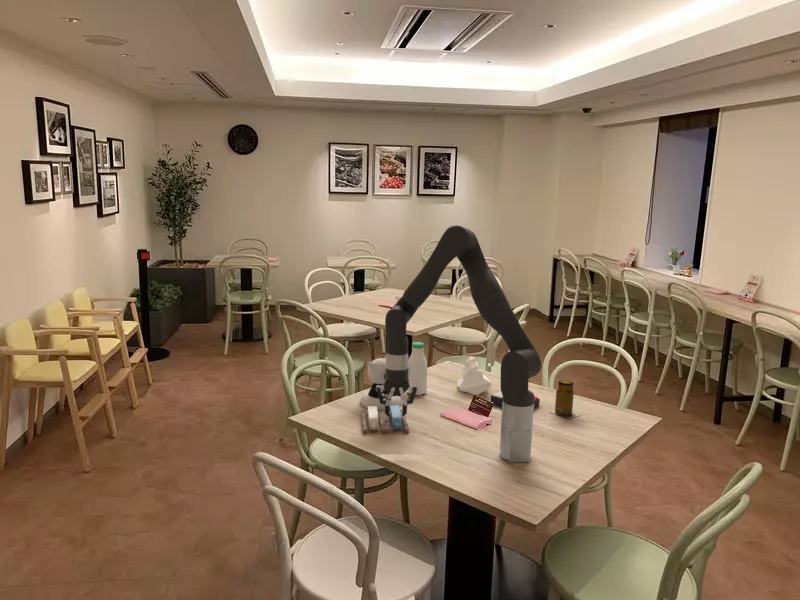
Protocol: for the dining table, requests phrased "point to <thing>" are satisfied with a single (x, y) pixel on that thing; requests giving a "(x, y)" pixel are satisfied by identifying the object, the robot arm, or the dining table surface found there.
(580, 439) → the dining table surface
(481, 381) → the soft serve ice cream
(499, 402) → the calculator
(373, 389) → the decorative figurine
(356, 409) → the dining table surface
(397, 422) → the light blue bar
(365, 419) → the cord comb
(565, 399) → the condiment
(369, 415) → the white rectangular block
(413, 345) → the milk bottle
